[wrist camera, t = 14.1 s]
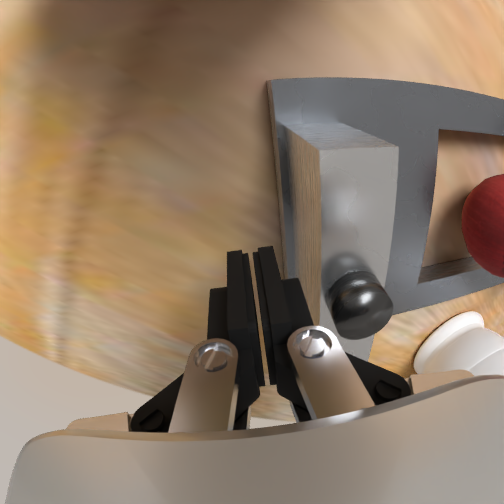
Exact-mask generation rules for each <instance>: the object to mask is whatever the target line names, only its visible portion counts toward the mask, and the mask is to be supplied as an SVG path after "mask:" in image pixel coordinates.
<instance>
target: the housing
mask: <svg viewBox="0 0 504 504" xmlns="http://www.w3.org/2000/svg"><path fill="white" fill-rule="evenodd" d="M266 82H267V90H268V99H269V108H270V118H271V127H272V137H273V147H274V157H275V167H276V178H277V189H278V201H279V213H280V225H281V238H282V252H283V266H284V279H291V278H295V273H294V252H293V233H292V216H291V201H290V186H289V173H288V160H287V148H286V137H285V126H287V125H300V124H315V123H336V122H340V123H342V124H345V125H348V126H350V127H353V128H355V129H358V130H361V131H363V132H365V133H368V134H370V135H373V136H375V137H377V138H380V139H382V140H384V141H387V142H389V143H391V144H393V145H396V146H398V147H399V156H398V177H397V192H396V204H395V215H394V224H393V233H392V241H391V248H390V256H389V262H388V269H387V275H386V281H385V286H384V289H385V291H386V293H387V294H388V296H389V297H390V299H391V300H392V302H393V313H392V315H395V314H399V313H403V312H407V311H411V310H415V309H419V308H422V307H426V306H430V305H434V304H437V303H441V302H444V301H448V300H451V299H454V298H458V297H461V296H464V295H468V294H471V293H474V292H477V291H480V290H483V289H486V288H489V287H492V286H495V285H498V284H501V283H504V278H501V277H498V276H495V275H492V274H491V273H489V272H488V271H487V270H485V269H484V268H482V267H481V266H480V265H479V264H478V263H477V262H476V261H475V260H474V259H473V257H469V258H464V259H460V260H456V261H451V262H446V263H442V264H437V265H432V266H428V267H423V268H421V265H422V261H423V256H424V251H425V246H426V241H427V235H428V229H429V223H430V217H431V210H432V203H433V195H434V187H435V177H436V166H437V153H438V133H439V129H445V130H457V131H468V132H477V133H486V134H494V135H501V136H504V100H503V99H499V98H495V97H491V96H487V95H483V94H479V93H474V92H470V91H465V90H460V89H455V88H449V87H443V86H437V85H430V84H423V83H415V82H406V81H396V80H384V79H368V78H293V79H277V80H268V81H266Z"/></svg>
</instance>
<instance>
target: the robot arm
mask: <svg viewBox="0 0 504 504" xmlns="http://www.w3.org/2000/svg"><path fill="white" fill-rule="evenodd" d="M253 259H254V267H255V275H256V283H257V290H258V298H259V306H260V314H261V321H262V328H263V335H264V343H265V350H266V357H267V365H268V372H269V379H270V385H275V384H276V385H277V392H278V393H279V395H281V396H283V397H284V398H286V399H288V400H289V401H290V406H291V409H292V411H293V414H294V417H295V419H296V422H297V423H293V424H287V425H280V426H273V427H264V428H255V429H249V427H250V416H251V404H252V403H253V402H254V401H255V400H256V399H257V398H258V397H259V395H260V390H259V387H260V386H265V380H264V372H263V364H262V356H261V347H260V339H259V331H258V323H257V315H256V307H255V300H254V293H253V286H252V278H251V271H250V264H249V257H248V253H245V254H242V250H238V251H230V252H227V287H223V288H214V289H211V290H210V298H209V315H208V333H207V340H205V341H202V342H201V343H199V344H198V345H196V346H195V347H194V348H193V349H192V351H191V353H190V355H189V358H188V361H187V365H186V368H185V372H184V373H183V374H182V375H181V376H180V377H178V378H177V379H176V380H175V381H173V382H172V383H171V384H170V385H168V386H167V387H166V388H164V389H163V390H162V391H161V392H159V393H158V394H157V395H156V396H154V397H153V398H152V399H150V400H149V401H148V402H146V403H145V404H144V405H143V406H141V407H140V408H139V409H138V410H137V411H136V412H135V413H134V414H130V415H129V414H128V412H124V413H118V414H112V415H105V416H99V417H92V418H83V419H78V420H75V421H73V422H72V423H70V424H69V425H68V427H67V428H66V429H65V430H57V431H53V432H48V433H45V434H41V435H39V436H36V437H34V438H32V439H31V440H29V441H28V442H27V443H26V444H25V446H24V447H23V448H22V450H21V452H20V454H19V456H18V458H17V461H16V463H15V466H14V469H13V472H12V475H11V479H10V483H9V487H8V492H7V497H6V502H5V504H504V375H478V376H474V375H473V374H472V373H471V372H469V371H467V370H461V369H458V370H451V371H443V372H434V373H425V374H415V375H410V377H409V378H403V377H401V376H399V375H398V374H396V373H393V372H391V371H388V370H386V369H384V368H381V367H379V366H376V365H374V364H372V363H369V362H367V361H365V360H362V359H360V358H358V357H356V356H353V355H351V354H349V353H346V352H344V350H343V348H342V347H341V345H340V343H339V342H338V340H337V338H336V337H335V335H334V334H333V333H332V332H331V331H329V330H328V329H326V328H323V327H320V326H314V324H313V320H312V317H311V314H310V311H309V308H308V305H307V302H306V299H305V296H304V293H303V290H302V287H301V284H300V281H299V278H291V279H284V280H281V277H280V273H279V269H278V265H277V262H276V258H275V254H274V250H273V246H268V247H261V248H258V252H253Z"/></svg>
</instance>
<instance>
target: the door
mask: <svg viewBox="0 0 504 504" xmlns="http://www.w3.org/2000/svg"><path fill="white" fill-rule="evenodd" d="M285 137H286V148H287V160H288V173H289V186H290V201H291V216H292V233H293V252H294V273H295V278H299V281H300V284H301V287H302V290H303V293H304V296H305V299H306V302H307V305H308V308H309V311H310V314H311V317H312V320H313V324H314V326H320V327H323V328H326V329H328V330H329V331H331V332H332V333H333V334H334V335H335V337H336V338H337V340H338V342H339V343H340V345H341V347H342V348H343V350H344V352H346V353H349V354H351V355H353V356H356V357H358V358H360V359H362V360H365V361H367V362H368V359H369V355H370V351H371V347H372V343H373V339H374V335H375V333H377V332H378V331H380V330H381V329H382V328H383V327H384V326H385V325H386V324H387V323H388V321H389V320H390V318H391V316H392V313H393V302H392V300H391V299H390V297H389V296H388V294H387V293H386V291H385V289H384V286H385V281H386V275H387V269H388V262H389V256H390V248H391V241H392V233H393V224H394V215H395V204H396V192H397V177H398V156H399V147H398V146H396V145H393V144H391V143H389V142H387V141H384V140H382V139H380V138H377V137H375V136H373V135H370V134H368V133H365V132H363V131H361V130H358V129H355V128H353V127H350V126H348V125H345V124H342V123H340V122H336V123H315V124H300V125H287V126H285Z"/></svg>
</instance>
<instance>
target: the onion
mask: <svg viewBox="0 0 504 504" xmlns="http://www.w3.org/2000/svg"><path fill="white" fill-rule="evenodd" d="M462 232H463V236H464V239H465V242H466V246H467V249H468V252H469V253H470V255H471V256H472V257H473V259H474V260H475V261H476V262H477V263H478V264H479V265H480V266H481V267H482V268H484V269H485V270H487V271H488V272H489V273H491V274H492V275H495V276H498V277H501V278H504V174H501V175H496V176H493V177H490V178H487V179H485V180H484V181H483V182H481V183H480V184H479V185H478V186H477V187H475V188H474V189H473V190H472V192H470V194H469V195H468V196H467V198H466V201H465V203H464V206H463V209H462Z"/></svg>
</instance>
